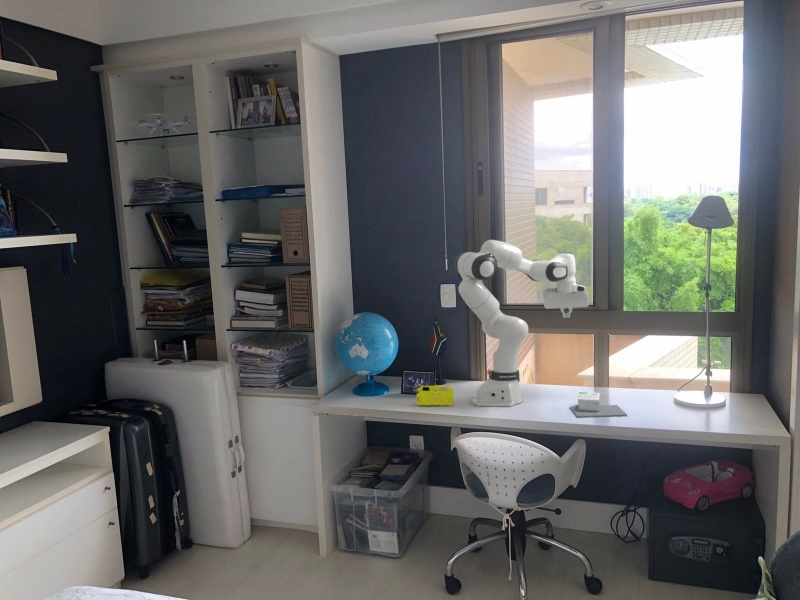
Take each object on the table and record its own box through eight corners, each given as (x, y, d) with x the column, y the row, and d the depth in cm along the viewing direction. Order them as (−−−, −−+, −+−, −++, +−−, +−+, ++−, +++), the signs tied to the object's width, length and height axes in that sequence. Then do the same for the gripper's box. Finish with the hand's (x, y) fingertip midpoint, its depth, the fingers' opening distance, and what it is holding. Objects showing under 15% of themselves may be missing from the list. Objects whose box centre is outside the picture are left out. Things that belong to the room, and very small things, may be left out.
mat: (577, 417, 261) (577, 416, 260) (569, 407, 274) (569, 406, 274) (627, 415, 260) (627, 414, 260) (616, 406, 274) (616, 404, 274)
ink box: (579, 402, 279) (577, 410, 268) (579, 391, 279) (577, 398, 267) (600, 403, 276) (599, 411, 265) (600, 392, 276) (599, 400, 265)
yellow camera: (453, 403, 290) (452, 385, 289) (452, 407, 284) (452, 388, 283) (418, 403, 292) (417, 385, 291) (416, 407, 287) (416, 388, 286)
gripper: (544, 289, 292) (545, 319, 293) (589, 287, 291) (590, 317, 292) (541, 287, 298) (542, 317, 300) (586, 286, 297) (586, 315, 299)
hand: (566, 317), depth 296 cm, fingers closed
